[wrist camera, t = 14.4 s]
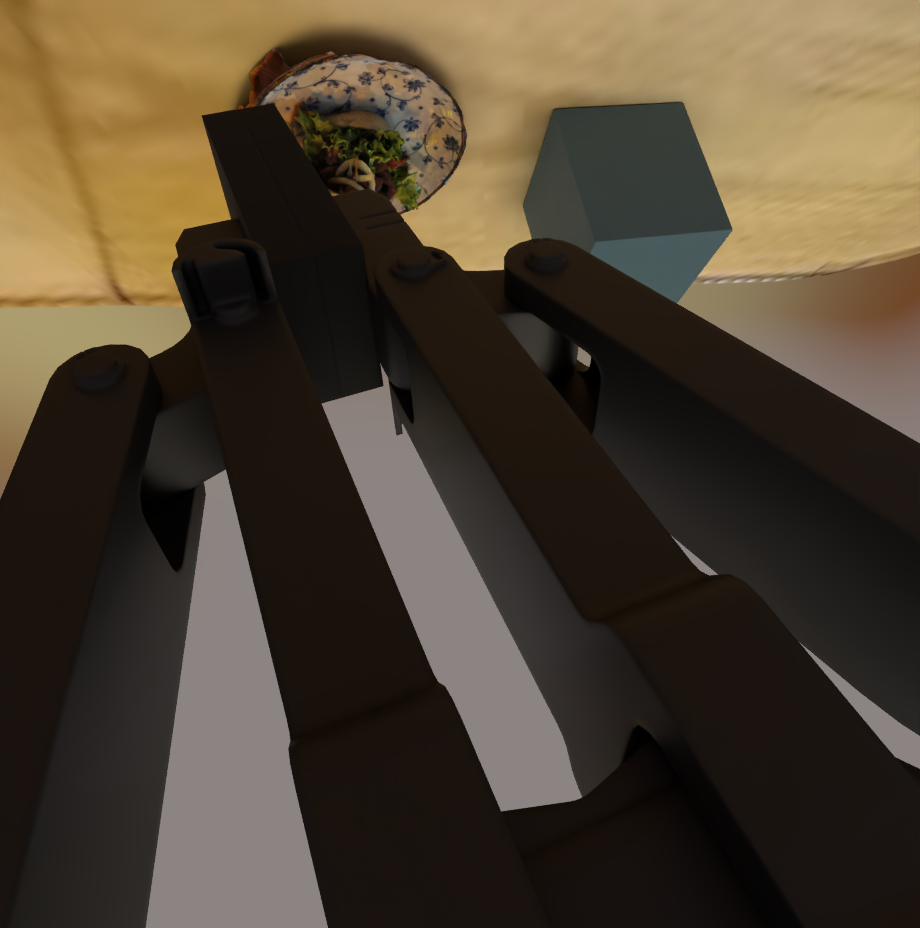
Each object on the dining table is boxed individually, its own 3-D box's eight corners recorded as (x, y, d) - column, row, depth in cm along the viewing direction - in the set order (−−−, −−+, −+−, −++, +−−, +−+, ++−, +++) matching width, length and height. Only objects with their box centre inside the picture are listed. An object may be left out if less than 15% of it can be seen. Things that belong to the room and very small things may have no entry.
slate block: (522, 206, 47) (555, 323, 44) (553, 108, 39) (595, 242, 36) (633, 197, 48) (672, 310, 45) (683, 101, 41) (733, 229, 38)
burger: (488, 150, 41) (517, 257, 39) (317, 229, 45) (334, 332, 42) (398, -24, 30) (431, 110, 28) (181, 98, 34) (195, 226, 31)
